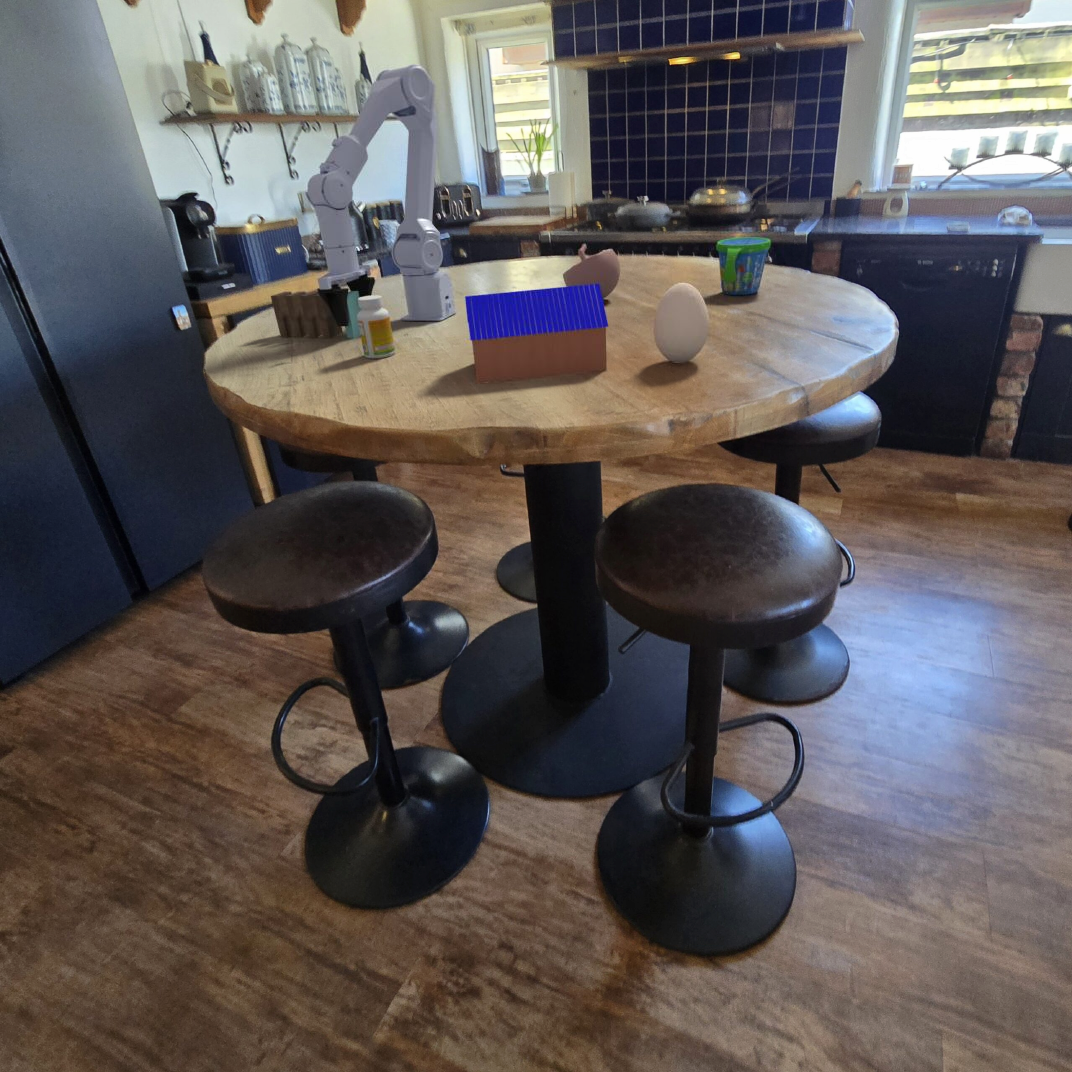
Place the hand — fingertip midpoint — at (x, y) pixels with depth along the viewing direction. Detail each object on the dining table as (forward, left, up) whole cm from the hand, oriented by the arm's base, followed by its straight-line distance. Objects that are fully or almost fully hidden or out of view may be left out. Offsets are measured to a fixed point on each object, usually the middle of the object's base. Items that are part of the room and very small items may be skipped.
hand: (354, 321), depth 134 cm
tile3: (+9, 0, -3) cm, 9 cm away
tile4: (+12, 0, -3) cm, 13 cm away
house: (-44, +17, -3) cm, 47 cm away
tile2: (+6, 0, -3) cm, 6 cm away
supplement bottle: (-13, +13, -3) cm, 19 cm away
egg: (-65, +13, -3) cm, 66 cm away
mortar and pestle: (-39, -32, -3) cm, 51 cm away
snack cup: (-69, -40, -3) cm, 80 cm away
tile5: (+16, 0, -3) cm, 16 cm away
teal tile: (0, 0, -3) cm, 3 cm away
